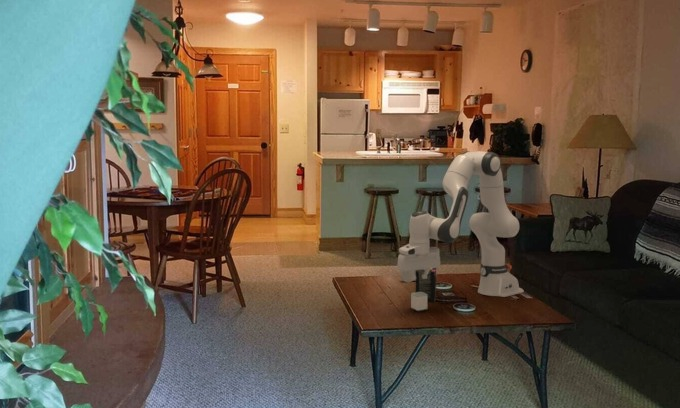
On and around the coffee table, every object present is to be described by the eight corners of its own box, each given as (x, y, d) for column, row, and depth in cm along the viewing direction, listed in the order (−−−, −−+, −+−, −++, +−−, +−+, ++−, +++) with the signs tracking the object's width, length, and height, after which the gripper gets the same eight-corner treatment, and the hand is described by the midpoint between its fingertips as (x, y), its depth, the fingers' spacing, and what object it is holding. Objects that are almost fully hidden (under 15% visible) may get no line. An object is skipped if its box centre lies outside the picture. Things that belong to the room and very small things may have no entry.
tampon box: (435, 302, 288) (435, 271, 286) (415, 301, 289) (415, 270, 288) (436, 296, 298) (436, 266, 297) (417, 295, 300) (417, 265, 298)
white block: (421, 305, 278) (421, 291, 277) (427, 308, 274) (427, 294, 273) (411, 307, 276) (411, 292, 275) (417, 310, 271) (417, 295, 271)
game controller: (435, 280, 331) (435, 264, 330) (436, 281, 328) (436, 265, 327) (399, 281, 327) (400, 266, 326) (401, 282, 325) (401, 267, 324)
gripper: (435, 245, 279) (435, 275, 280) (395, 249, 270) (395, 280, 272) (443, 247, 273) (443, 278, 275) (403, 251, 265) (402, 283, 266)
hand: (419, 279), depth 273 cm, fingers open, 4 cm apart
